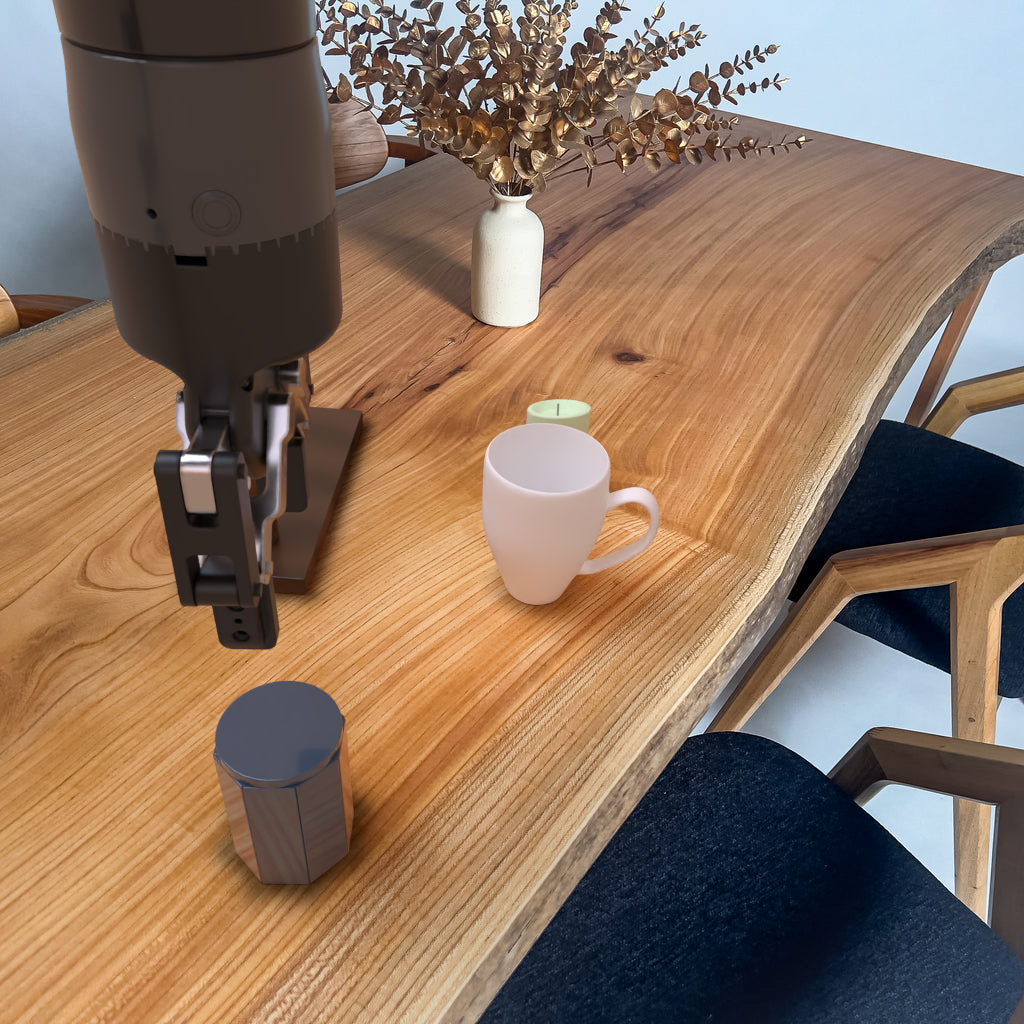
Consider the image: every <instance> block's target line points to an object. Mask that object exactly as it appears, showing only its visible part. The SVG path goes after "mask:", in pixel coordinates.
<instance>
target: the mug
mask: <svg viewBox="0 0 1024 1024" xmlns="http://www.w3.org/2000/svg"><path fill="white" fill-rule="evenodd" d="M611 465H612V464H611V459H610V455H609V453H608V452H607V450H606V449H605V447H604V446H603V445H602V444H601V443H600V442H599V441H598V440H597V439H595V438H594V437H593V436H591V435H589V433H588V434H586V433H584V432H582V431H579V430H577V429H574V428H571V427H567V426H563V425H558V424H549V423H533V424H526V423H525V424H520V425H516V426H513V427H510V428H508V429H506V430H503V431H502V432H500V433H499V434H497V435H496V436H495V437H494V438H493V439H492V440H491V441H490V443H489V445H488V446H487V448H486V450H485V454H484V460H483V471H482V472H483V473H482V489H481V490H482V494H481V519H482V525H483V532H484V535H485V539H486V541H487V545H488V548H489V550H490V552H491V555H492V557H493V559H494V562H495V564H496V567H497V570H498V572H499V574H500V576H501V579H502V581H503V584H504V586H505V588H506V590H507V592H508V593H509V594H510V596H512V597H513V598H514V599H515V600H517V601H519V602H521V603H524V604H526V605H533V606H534V605H535V606H543V605H547V604H551V603H553V602H555V601H556V600H558V599H559V598H560V597H561V596H562V595H563V594H564V592H565V591H566V590H567V588H568V587H569V585H570V584H571V582H572V581H573V580H574V578H576V576H578V575H579V576H587V575H594V574H597V573H599V572H602V571H605V570H607V569H610V568H613V567H615V566H618V565H620V564H622V563H625V562H627V561H629V560H632V559H633V558H635V557H637V556H639V555H640V554H643V552H644V551H646V550H647V549H648V548H649V547H650V546H651V545H652V543H653V542H654V540H655V538H656V536H657V534H658V531H659V527H660V521H661V513H660V507H659V504H658V501H657V500H656V497H655V496H654V495H653V494H652V493H651V492H650V491H649V490H648V489H646V488H643V487H639V486H632V487H626V488H623V489H619V490H616V491H613V492H610V481H611V473H612V471H611V469H612V468H611V467H612V466H611ZM630 503H635V504H639V505H641V506H642V507H644V508H645V510H647V512H648V514H649V516H650V522H649V526H648V528H647V530H646V532H645V533H644V534H643V535H642V536H641V537H640V538H638V539H637V540H635V541H634V542H632V543H630V544H628V545H626V546H624V547H621V548H619V549H617V550H614V551H613V552H610V553H608V554H605V555H602V556H600V557H597V558H594V559H588V558H589V556H590V554H591V553H592V551H593V549H594V547H595V546H596V544H597V542H598V540H599V537H600V535H601V533H602V530H603V527H604V524H605V521H606V519H607V515H608V513H609V512H610V511H612V510H614V509H616V508H618V507H620V506H623V505H626V504H630Z"/></svg>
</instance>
